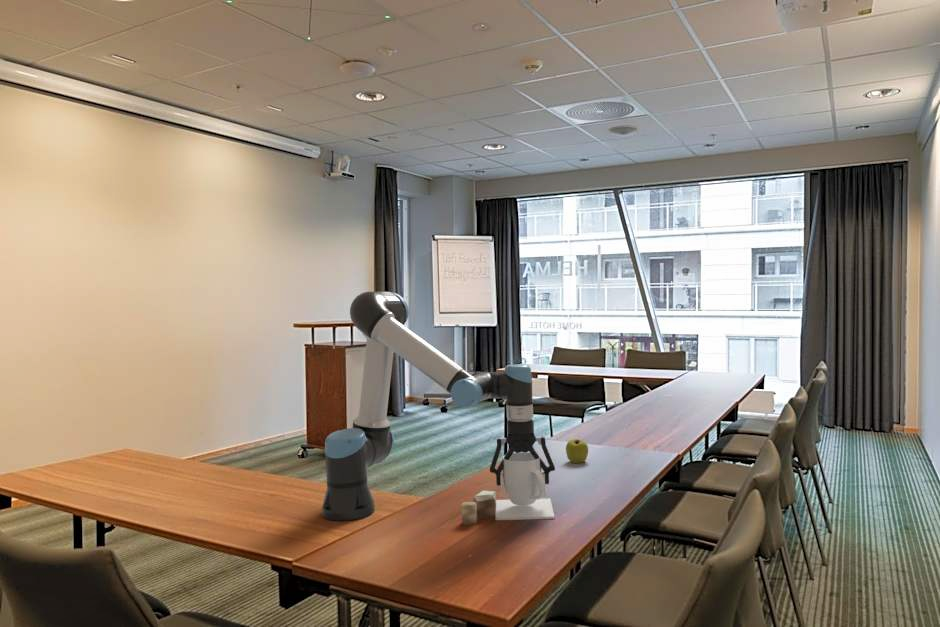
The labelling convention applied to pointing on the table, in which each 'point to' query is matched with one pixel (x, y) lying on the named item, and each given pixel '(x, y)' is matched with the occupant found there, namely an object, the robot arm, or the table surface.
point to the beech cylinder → (469, 513)
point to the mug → (523, 478)
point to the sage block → (488, 494)
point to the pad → (524, 510)
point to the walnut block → (485, 506)
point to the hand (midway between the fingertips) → (523, 496)
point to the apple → (577, 450)
